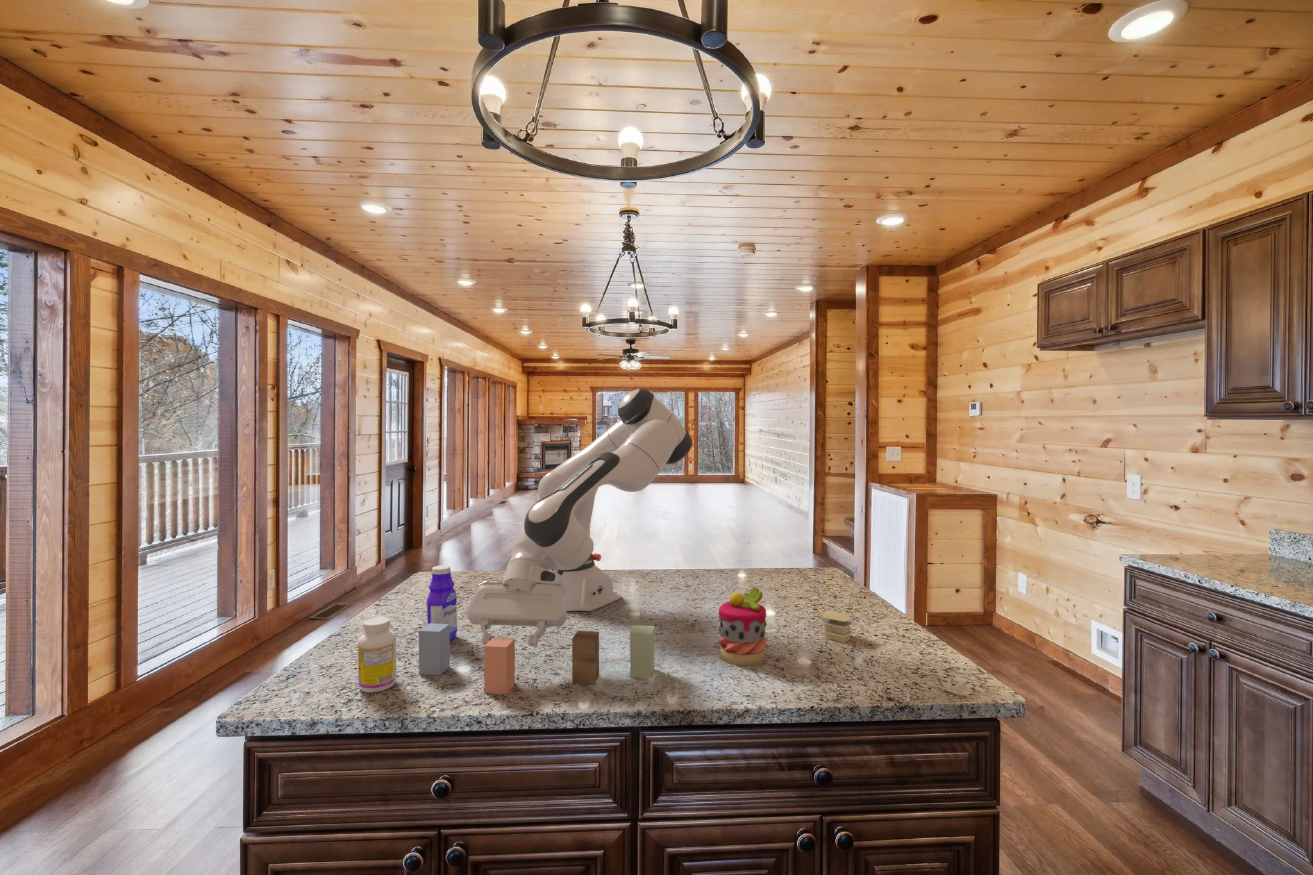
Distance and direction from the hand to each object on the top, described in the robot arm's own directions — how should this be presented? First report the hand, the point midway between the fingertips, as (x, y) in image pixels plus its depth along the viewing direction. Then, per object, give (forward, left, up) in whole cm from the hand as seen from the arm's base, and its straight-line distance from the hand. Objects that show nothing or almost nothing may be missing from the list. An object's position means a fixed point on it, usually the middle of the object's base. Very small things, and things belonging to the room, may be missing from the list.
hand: (509, 644), depth 114 cm
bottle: (-2, -31, -8) cm, 32 cm away
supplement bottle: (+18, -17, -8) cm, 27 cm away
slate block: (+7, -16, -8) cm, 20 cm away
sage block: (-22, +16, -8) cm, 28 cm away
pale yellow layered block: (-68, +35, -8) cm, 77 cm away
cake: (-43, +26, -8) cm, 50 cm away
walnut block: (-12, +10, -8) cm, 17 cm away
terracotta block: (+2, +1, -8) cm, 8 cm away
